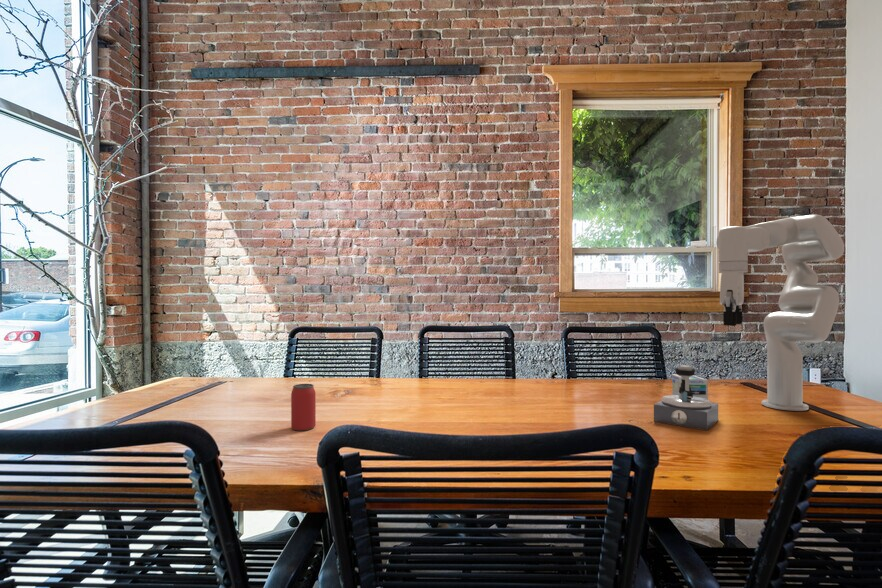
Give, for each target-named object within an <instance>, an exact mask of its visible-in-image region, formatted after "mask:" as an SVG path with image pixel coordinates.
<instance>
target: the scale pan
mask: <svg viewBox="0 0 882 588" xmlns="http://www.w3.org/2000/svg"><path fill="white" fill-rule="evenodd" d="M661 400H662V403H664V404H666V405H669V406H672V407H678V408H685V409H708V408H711V402H712V401H711V400H709V399H708V400H707V399H704V398H700V397H694V396H693V398H691V400H692V401H684V400H682V399H679V395H672V394H671V395H664V396H662V397H661Z"/></svg>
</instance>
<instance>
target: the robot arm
mask: <svg viewBox="0 0 882 588" xmlns="http://www.w3.org/2000/svg"><path fill="white" fill-rule="evenodd" d="M715 242H716V247H717V249H718V274H720V275H721V276H720V288H719V304H720V305H721V306H723V311H722V313H723V314H722V315H723V316H722V317H723V319H722V320H723V326H726V327H727V326H729V327H730V326H731V327H732V326H734V327H735V326H737V325H742V324H743V307H742V305H743V304H744V302H745V301H744V300H745V280H744V279H745V275H744V273H745V274H746V273H749V253H756V252H762V251H764V250H766V249H771V248H772V249H773V248H778V247H781V254H782V256H781V257H782V259H783V263H784V265H785V268H786V272H787V277H786V280H785V282H784V284H783V286H782V287H783V288H782V290H781V293H780V295H779V298H778V307H779V309H780V310H781V311H774V312H770V313H769V314H767V315H766V316H765V317H764V319H763V331H764V334H765V341H766V355H767V356H766V359H767V360H766V361H767V362H766V363H767V365H766V366H767V367H766V370H767V373H766V374H767V376H766V377H767V378H766V379H767V382H766V383H767V384H766V385H767V387H766V388H767V389H766V392H767V394H766V395H767V398H766V399H762V400H761V405H763V406H765V407H766V408H771V409H776V410H783V411H792V412H804V411H805V412H806V411H808V410H809V409H810V408H809V405H808V404H807V403H803V402H804V401H803V397H804V395H803V393H804V391H803V390H804V389H803V388H804V387H803V385H804V384H803V382H804V381H803V377H804V376H803V372H804V371H803V370H804V369H803V368H804V367H803V361H804V359H803V352H802V350H801V349H800V348H799V345H798V344H797V343H796V342H803V343H804V342H805V343H822V342H825V340H827V339H828V337H829V336H830V333H831V330H832V328H833V324H834V322H835V319H836V315H837V313H838V310H839V307H840V306H839V305H840V296H839V293H838V291H837V290H836V289H835V288H834V286H833V287H832V286H830V285H823V284H822V285H821V284H819V285H818V283H819V275H817V273H816V271H815V270H814V269H813V268H812V267H811V266H809V265H808V263H809V262H810V263H812V262H826V261H827V262H829V261H836V260H838V259H840V258H842V256H843V254H844V252H845V244H844V241H843V239H842V237H841V236H840V234H839V233H838V231H837V230H836V229H835V227H834V226H833V225H832V223H831V222H830V221H829V220H828V219H827V218H826V217H825V216H823V215H821V214H816V213H815V214H807V215H800V216H791V217H785V218H781V219H776V220H771V221H766V222H765V221H764V222H760V223H756V224H751V225H746V226H742V225H741V226H740V225H739V226H738V225H734V226H733V225H732V226H725V227H723V228H720V229H719V231H718V236H717V238H716V241H715Z"/></svg>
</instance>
